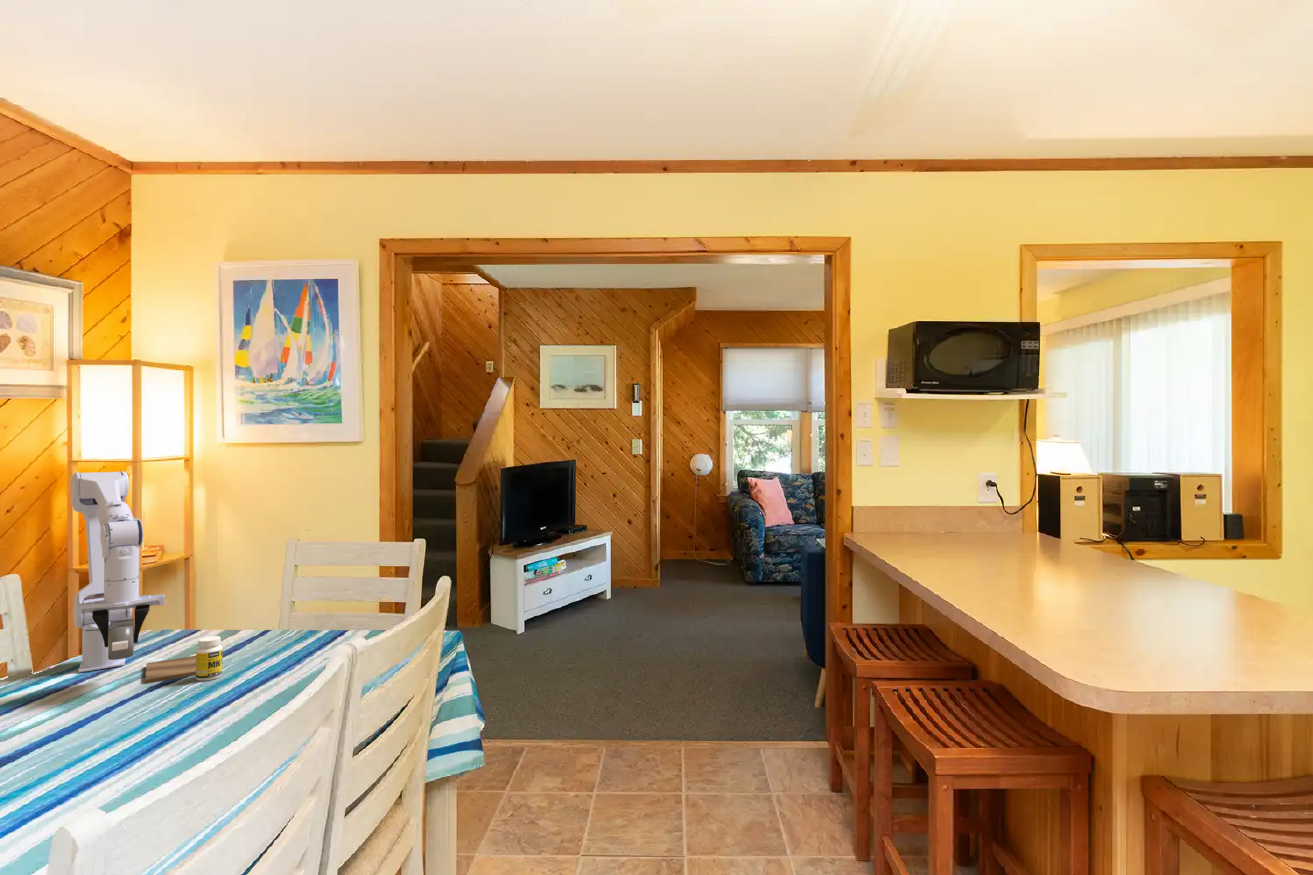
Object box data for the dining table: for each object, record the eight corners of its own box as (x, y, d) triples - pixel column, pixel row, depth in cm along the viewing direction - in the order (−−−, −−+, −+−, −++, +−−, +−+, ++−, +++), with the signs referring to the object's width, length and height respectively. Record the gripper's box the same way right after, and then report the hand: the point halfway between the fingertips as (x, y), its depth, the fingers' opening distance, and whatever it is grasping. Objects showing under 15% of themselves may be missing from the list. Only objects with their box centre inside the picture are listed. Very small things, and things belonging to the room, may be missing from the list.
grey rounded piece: (110, 647, 143) (110, 619, 143) (134, 643, 145) (134, 616, 145) (106, 663, 132) (106, 633, 132) (132, 659, 135) (132, 629, 135)
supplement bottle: (209, 682, 142) (209, 642, 142) (190, 680, 143) (190, 641, 143) (227, 674, 146) (227, 635, 146) (209, 672, 147) (209, 634, 147)
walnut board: (146, 666, 151) (146, 663, 151) (210, 656, 158) (210, 653, 158) (145, 683, 141) (145, 679, 141) (213, 671, 148) (213, 668, 148)
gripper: (73, 586, 132) (73, 655, 132) (164, 577, 141) (164, 642, 141) (77, 580, 138) (77, 646, 138) (164, 572, 146) (164, 634, 146)
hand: (121, 643), depth 140 cm, fingers closed on grey rounded piece, 4 cm apart
